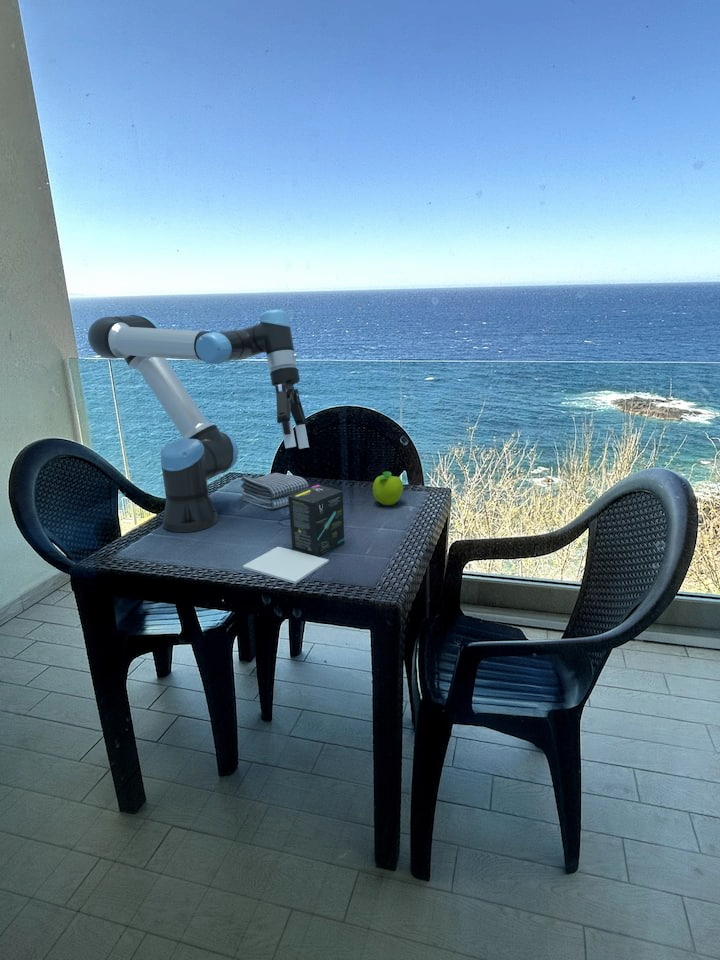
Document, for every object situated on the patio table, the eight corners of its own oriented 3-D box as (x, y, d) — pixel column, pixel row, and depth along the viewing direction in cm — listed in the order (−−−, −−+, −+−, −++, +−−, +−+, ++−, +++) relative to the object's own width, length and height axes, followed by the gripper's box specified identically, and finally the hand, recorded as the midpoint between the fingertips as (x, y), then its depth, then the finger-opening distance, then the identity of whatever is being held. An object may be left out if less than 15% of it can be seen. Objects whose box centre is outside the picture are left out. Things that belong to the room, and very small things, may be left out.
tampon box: (319, 535, 158) (317, 483, 154) (345, 543, 153) (343, 489, 148) (290, 548, 150) (286, 494, 146) (316, 557, 144) (313, 501, 140)
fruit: (369, 507, 177) (368, 476, 174) (378, 498, 186) (377, 467, 183) (398, 510, 175) (398, 478, 172) (406, 500, 183) (406, 469, 180)
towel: (273, 512, 176) (271, 488, 174) (237, 500, 188) (235, 476, 186) (311, 499, 187) (310, 476, 184) (275, 488, 199) (273, 466, 196)
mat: (242, 568, 140) (242, 565, 140) (278, 548, 150) (277, 546, 150) (295, 583, 132) (295, 581, 131) (329, 562, 142) (328, 559, 142)
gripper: (283, 359, 144) (299, 444, 144) (308, 373, 168) (321, 445, 169) (254, 365, 145) (270, 449, 145) (283, 378, 170) (296, 450, 170)
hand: (297, 447), depth 157 cm, fingers open, 13 cm apart
